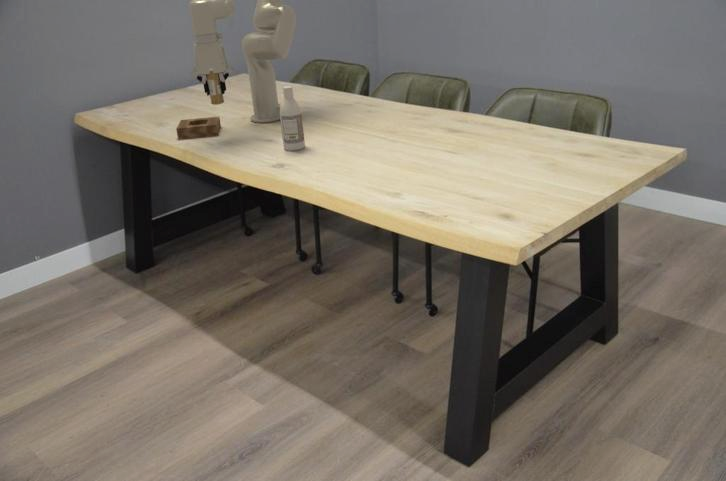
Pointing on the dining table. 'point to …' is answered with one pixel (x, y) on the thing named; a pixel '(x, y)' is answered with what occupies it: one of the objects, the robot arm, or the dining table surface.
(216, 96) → the sprinkles bottle
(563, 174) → the dining table surface
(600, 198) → the dining table surface
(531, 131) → the dining table surface
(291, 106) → the bath foam
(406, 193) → the dining table surface
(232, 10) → the robot arm
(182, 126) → the socket board
